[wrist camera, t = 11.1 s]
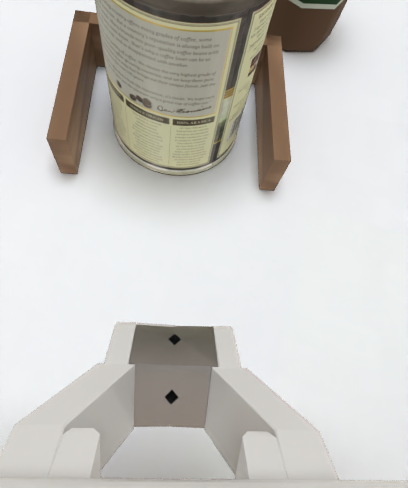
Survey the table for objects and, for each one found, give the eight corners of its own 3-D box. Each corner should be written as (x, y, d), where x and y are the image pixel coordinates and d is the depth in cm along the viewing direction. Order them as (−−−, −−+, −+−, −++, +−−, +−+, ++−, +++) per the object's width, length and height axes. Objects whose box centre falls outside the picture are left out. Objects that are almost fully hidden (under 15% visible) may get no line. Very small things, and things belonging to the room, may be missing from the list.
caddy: (267, 75, 34) (280, 36, 31) (274, 190, 30) (290, 160, 26) (84, 53, 33) (75, 10, 29) (60, 172, 28) (46, 138, 24)
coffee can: (113, 74, 32) (85, -144, 19) (230, 79, 34) (278, -121, 21) (110, 177, 28) (73, -10, 15) (243, 177, 30) (311, 7, 17)
